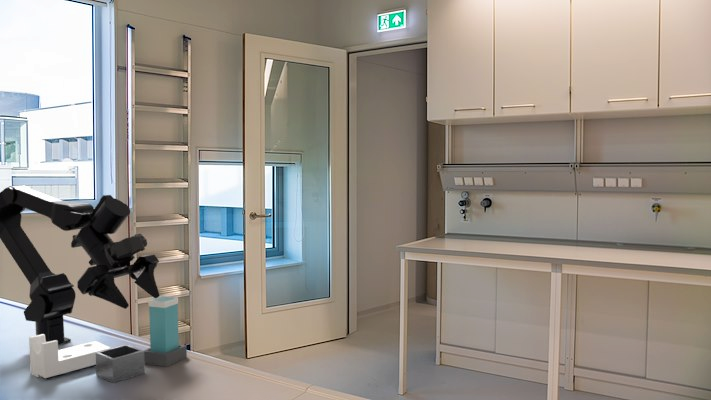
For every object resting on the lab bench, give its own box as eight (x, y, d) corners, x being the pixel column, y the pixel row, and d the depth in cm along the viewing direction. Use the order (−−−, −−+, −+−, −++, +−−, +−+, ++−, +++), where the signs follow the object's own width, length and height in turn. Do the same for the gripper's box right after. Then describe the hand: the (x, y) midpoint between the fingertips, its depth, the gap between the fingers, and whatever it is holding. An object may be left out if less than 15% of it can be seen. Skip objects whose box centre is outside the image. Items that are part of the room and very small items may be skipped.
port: (96, 375, 111) (95, 352, 111) (127, 365, 116) (126, 344, 116) (113, 383, 107) (112, 359, 106) (144, 373, 112) (144, 350, 111)
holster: (143, 362, 118) (142, 351, 117) (163, 353, 123) (163, 342, 123) (167, 366, 115) (166, 354, 115) (186, 356, 121) (186, 345, 121)
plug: (150, 362, 118) (148, 300, 117) (163, 355, 122) (162, 296, 121) (166, 364, 117) (164, 302, 116) (179, 357, 120) (178, 297, 120)
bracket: (45, 383, 108) (43, 344, 107) (30, 374, 112) (29, 336, 112) (111, 364, 118) (110, 328, 117) (96, 357, 122) (94, 322, 122)
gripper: (85, 227, 113) (131, 286, 109) (150, 219, 130) (192, 269, 127) (57, 265, 116) (101, 322, 113) (125, 251, 133) (164, 301, 130)
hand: (143, 302), depth 120 cm, fingers open, 9 cm apart
